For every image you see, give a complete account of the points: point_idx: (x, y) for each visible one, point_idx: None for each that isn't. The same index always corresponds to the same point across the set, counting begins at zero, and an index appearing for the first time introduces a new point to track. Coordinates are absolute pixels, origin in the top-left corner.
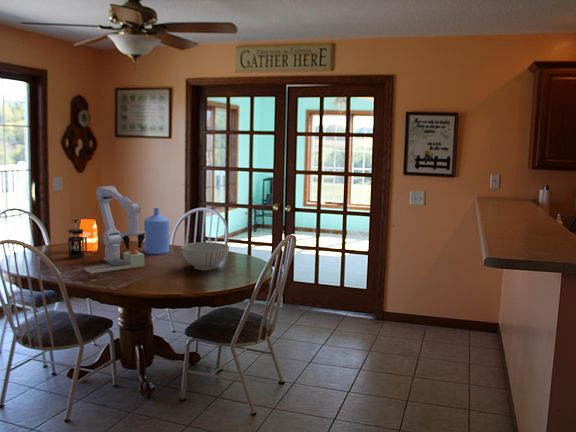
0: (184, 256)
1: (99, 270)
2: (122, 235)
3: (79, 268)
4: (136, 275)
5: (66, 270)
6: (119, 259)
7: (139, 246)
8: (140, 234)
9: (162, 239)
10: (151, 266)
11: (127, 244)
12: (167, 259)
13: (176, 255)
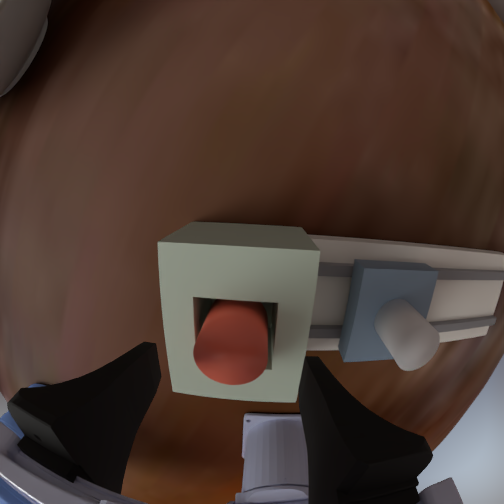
0: (29, 16)
1: (481, 251)
2: (455, 500)
3: (465, 367)
4: (362, 35)
5: (498, 354)
6: (366, 322)
7: (151, 362)
8: (63, 478)
9: (15, 422)
10: (155, 187)
11: (346, 392)
12: (38, 296)
13: (10, 330)
